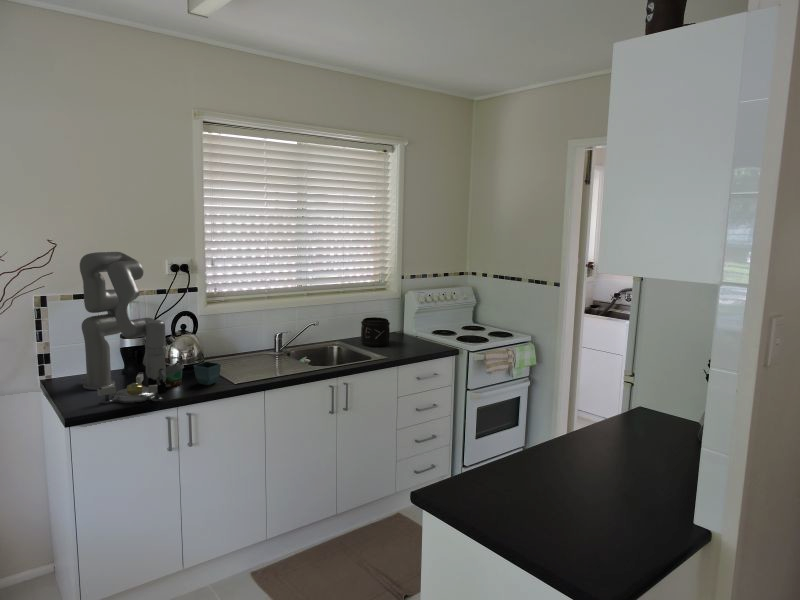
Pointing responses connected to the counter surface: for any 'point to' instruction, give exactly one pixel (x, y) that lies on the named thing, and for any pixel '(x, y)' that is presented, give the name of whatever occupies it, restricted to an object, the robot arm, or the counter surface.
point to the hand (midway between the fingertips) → (157, 390)
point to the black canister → (375, 332)
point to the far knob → (153, 390)
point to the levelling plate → (132, 395)
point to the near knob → (106, 391)
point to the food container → (174, 374)
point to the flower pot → (207, 372)
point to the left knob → (139, 378)
